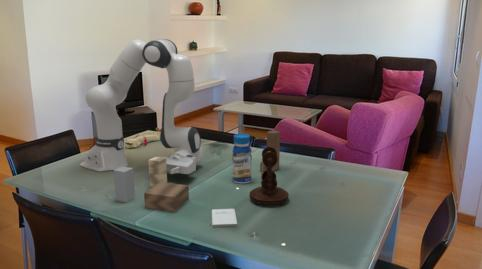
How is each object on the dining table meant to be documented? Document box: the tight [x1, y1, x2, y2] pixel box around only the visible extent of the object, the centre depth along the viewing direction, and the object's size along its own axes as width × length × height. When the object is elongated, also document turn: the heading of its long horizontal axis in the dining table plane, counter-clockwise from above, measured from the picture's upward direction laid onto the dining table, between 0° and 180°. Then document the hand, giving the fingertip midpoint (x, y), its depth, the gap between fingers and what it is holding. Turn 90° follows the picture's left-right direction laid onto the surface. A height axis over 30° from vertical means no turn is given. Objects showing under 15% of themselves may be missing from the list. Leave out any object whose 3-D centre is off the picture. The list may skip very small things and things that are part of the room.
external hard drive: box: [211, 208, 238, 228], centre depth 146 cm, size 2×8×12 cm
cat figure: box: [124, 127, 161, 149], centre depth 240 cm, size 10×9×25 cm
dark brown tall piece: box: [248, 146, 289, 206], centre depth 160 cm, size 15×15×20 cm
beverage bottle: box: [231, 133, 253, 185], centre depth 180 cm, size 8×8×20 cm
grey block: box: [113, 166, 136, 203], centre depth 161 cm, size 5×5×12 cm
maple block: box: [148, 156, 168, 189], centre depth 174 cm, size 5×5×12 cm
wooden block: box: [259, 129, 281, 173], centre depth 194 cm, size 9×4×18 cm, turn 139°
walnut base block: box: [143, 182, 190, 213], centre depth 158 cm, size 12×12×6 cm
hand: (160, 170), depth 175 cm, fingers open, 8 cm apart
